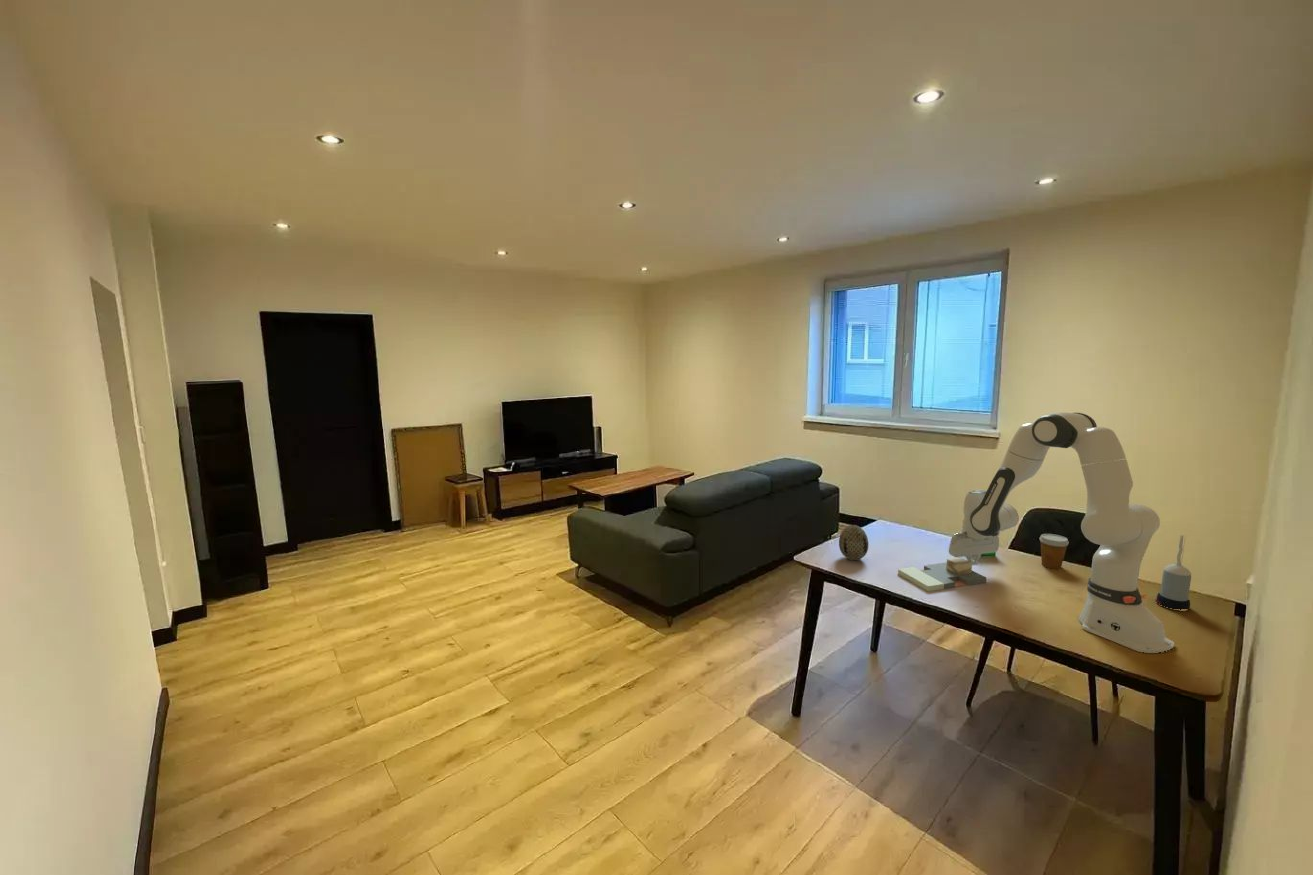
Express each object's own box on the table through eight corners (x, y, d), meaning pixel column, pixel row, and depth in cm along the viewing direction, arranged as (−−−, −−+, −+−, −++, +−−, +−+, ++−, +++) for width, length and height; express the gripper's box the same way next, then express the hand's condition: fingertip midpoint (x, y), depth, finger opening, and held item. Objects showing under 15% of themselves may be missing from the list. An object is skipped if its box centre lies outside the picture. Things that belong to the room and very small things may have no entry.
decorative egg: (857, 567, 215) (858, 532, 213) (832, 558, 225) (833, 524, 222) (873, 559, 222) (874, 525, 220) (848, 551, 231) (850, 519, 229)
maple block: (971, 572, 203) (972, 563, 202) (958, 574, 201) (959, 564, 201) (959, 566, 208) (959, 557, 208) (946, 568, 207) (946, 559, 206)
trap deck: (986, 582, 199) (986, 577, 198) (927, 591, 193) (928, 586, 192) (953, 566, 214) (953, 561, 214) (897, 573, 208) (898, 569, 208)
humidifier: (1150, 602, 180) (1160, 533, 176) (1164, 598, 183) (1174, 529, 179) (1180, 613, 173) (1191, 541, 169) (1195, 608, 176) (1206, 537, 172)
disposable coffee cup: (1072, 570, 207) (1075, 541, 205) (1047, 570, 207) (1050, 541, 205) (1054, 561, 217) (1057, 533, 215) (1031, 561, 217) (1033, 533, 215)
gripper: (958, 536, 198) (956, 571, 201) (1003, 531, 203) (1000, 564, 205) (946, 531, 204) (943, 564, 207) (989, 525, 209) (986, 558, 211)
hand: (972, 564), depth 206 cm, fingers closed
